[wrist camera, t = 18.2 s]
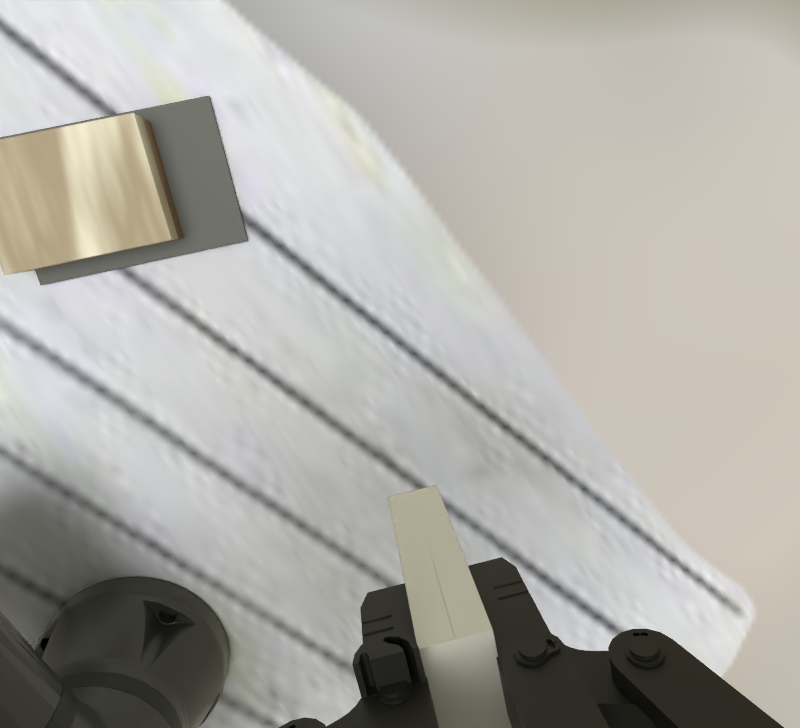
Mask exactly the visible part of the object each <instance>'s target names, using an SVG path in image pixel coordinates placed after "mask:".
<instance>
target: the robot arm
mask: <svg viewBox="0 0 800 728" xmlns="http://www.w3.org/2000/svg"><path fill="white" fill-rule="evenodd" d="M388 499H389V504H390V509H391V514H392V520H393V525H394V530H395V535H396V540H397V545H398V550H399V555H400V560H401V566H402V571H403V576H404V581H405V583H404V584H400V585H396V586H392V587H389V588H385V589H381V590H377V591H373V592H369V593H367V595H366V597H365V600H364V602H363V604H362V606H361V621H362V635H363V644H362V645H361V646H360V648H359V649H358V651H357V652H356V653H355V655H354V660H353V668H354V672H355V675H356V679H357V682H358V686H359V690H360V693H361V697H362V698H361V699H360V701H359V702H358V704H357V705H356V706H355V707H354V708H353V709H352V710H351V711H350V712H349V713H348V714H346V715H345V716H343V717H342V718H341V719H339V720H337V721H335V722H334V723H332V724H330V725H328V726H327V727H326V726H325V724H323V723H322V722H320V721H318V720H317V719H312V718H301V719H297V720H292V721H290V722H288V723H286V724H285V725H283V726H281V727H279V728H784V727H782V726H781V725H780V724H779V723H777V722H776V721H775V720H774V719H772V718H771V717H770V716H768V715H767V714H766V713H765V712H763V711H762V710H761V709H760V708H758V707H757V706H756V705H755V704H753V703H752V702H751V701H749V700H748V699H747V698H746V697H745V696H743V695H742V694H741V693H740V692H738V691H737V690H736V689H734V688H733V687H732V686H731V685H729V684H728V683H727V682H726V681H724V680H723V679H722V678H721V677H719V676H718V675H717V674H716V673H714V672H713V671H712V670H710V669H709V668H708V667H707V666H705V665H704V664H703V663H702V662H700V661H699V660H698V659H697V658H695V657H694V656H693V655H692V654H690V653H689V652H688V651H687V650H685V649H684V648H683V647H681V646H680V645H679V644H678V643H676V642H675V641H674V640H673V639H671V638H669V637H668V636H666V635H664V634H662V633H661V632H657V631H653V630H649V629H631V630H628V631H625V632H621V633H620V634H619V635H617V636H616V637H615V638H613V639H612V641H611V643H610V645H609V648H608V649H609V651H584V650H577V649H574V648H570V647H568V646H566V645H564V644H563V643H562V641H561V640H560V639H559V638H558V637H556V636H554V635H552V634H551V633H550V631H549V629H548V627H547V625H546V624H545V622H544V620H543V618H542V616H541V614H540V612H539V610H538V608H537V606H536V605H535V603H534V601H533V599H532V597H531V595H530V593H529V592H528V589H527V587H526V586H525V584H524V582H523V580H522V578H521V576H520V574H519V572H518V570H517V568H516V567H515V566H514V565H512V564H511V563H509V562H508V561H506V560H505V559H503V558H502V557H501V558H497V559H493V560H490V561H486V562H482V563H478V564H474V565H470V566H468V565H467V562H466V560H465V557H464V554H463V552H462V549H461V547H460V544H459V542H458V539H457V537H456V534H455V531H454V529H453V526H452V524H451V521H450V519H449V516H448V513H447V511H446V508H445V506H444V503H443V501H442V498H441V495H440V493H439V490H438V488H437V485H435V486H431V487H427V488H423V489H419V490H415V491H411V492H407V493H403V494H398V495H394V496H390V497H388ZM228 663H229V647H228V641H227V637H226V634H225V631H224V629H223V627H222V625H221V623H220V621H219V619H218V618H217V616H216V615H215V614H214V612H213V611H212V610H211V609H210V608H209V607H208V606H207V605H206V604H205V603H204V602H203V601H202V600H201V599H199V598H198V597H197V596H195V595H194V594H192V593H191V592H189V591H187V590H185V589H183V588H181V587H179V586H177V585H174V584H172V583H168V582H165V581H161V580H157V579H151V578H140V577H129V578H119V579H113V580H109V581H105V582H101V583H99V584H96V585H93V586H91V587H89V588H87V589H85V590H83V591H81V592H80V593H78V594H77V595H75V596H74V597H72V598H71V599H70V600H69V601H68V602H66V603H65V604H64V605H63V606H62V607H61V609H60V610H59V611H58V612H57V614H56V615H55V616H54V618H53V619H52V621H51V622H50V623H49V625H48V626H47V628H46V629H45V630H44V632H43V634H42V635H41V637H40V639H39V641H38V643H37V645H36V648H35V650H34V649H33V648H32V647H31V646H30V644H29V643H28V642H27V641H26V640H25V639H24V638H23V637H22V635H21V634H20V633H19V632H18V631H17V630H16V629H15V628H14V626H13V625H12V624H11V623H10V622H9V621H8V620H7V619H6V617H5V616H4V615H3V614H2V613H1V612H0V728H199V727H200V726H201V725H202V723H203V722H204V721H205V720H206V719H207V717H208V716H209V715H210V713H211V712H212V710H213V709H214V707H215V705H216V704H217V701H218V699H219V697H220V695H221V692H222V689H223V685H224V681H225V677H226V673H227V669H228Z"/></svg>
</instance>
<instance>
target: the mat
mask: <svg viewBox="0 0 800 728" xmlns="http://www.w3.org/2000/svg"><path fill="white" fill-rule="evenodd" d="M130 113H135V114H137V115H139V116H140V117H142V118H144V119H146V120H148V121H150V123H151V126H152V129H153V133H154V136H155V140H156V143H157V146H158V150H159V153H160V157H161V160H162V163H163V167H164V170H165V174H166V177H167V181H168V184H169V187H170V191H171V194H172V198H173V201H174V204H175V208H176V211H177V215H178V218H179V221H180V225H181V228H182V232H183V235H184V238H183V239H178V240H173V241H169V242H164V243H159V244H155V245H150V246H145V247H141V248H136V249H131V250H126V251H122V252H117V253H112V254H108V255H103V256H98V257H94V258H89V259H84V260H79V261H75V262H70V263H65V264H61V265H56V266H51V267H47V268H42V269H37V270H35V271H36V274H37V276H38V279H39V282H40V285H45V284H49V283H54V282H59V281H63V280H68V279H73V278H77V277H82V276H86V275H91V274H96V273H100V272H105V271H110V270H114V269H119V268H124V267H128V266H133V265H138V264H142V263H147V262H152V261H156V260H161V259H165V258H170V257H175V256H179V255H184V254H189V253H193V252H198V251H203V250H207V249H212V248H217V247H221V246H226V245H230V244H235V243H240V242H244V241H248V238H247V234H246V230H245V227H244V223H243V219H242V216H241V212H240V208H239V204H238V201H237V197H236V193H235V189H234V186H233V182H232V178H231V174H230V171H229V167H228V163H227V160H226V156H225V152H224V148H223V145H222V141H221V137H220V133H219V130H218V126H217V122H216V118H215V115H214V111H213V107H212V103H211V100H210V97H209V96H205V97H200V98H195V99H190V100H185V101H180V102H175V103H170V104H165V105H160V106H155V107H150V108H145V109H140V110H135V111H130V112H125V113H120V114H115V115H110V116H105V117H100V118H95V119H90V120H85V121H80V122H76V123H71V124H66V125H61V126H56V127H51V128H46V129H41V130H36V131H31V132H26V133H21V134H16V135H11V136H6V137H1V138H0V139H5V138H10V137H15V136H20V135H25V134H30V133H35V132H40V131H45V130H50V129H55V128H60V127H65V126H70V125H75V124H80V123H85V122H90V121H95V120H100V119H105V118H110V117H115V116H120V115H125V114H130Z"/></svg>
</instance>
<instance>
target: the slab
mask: <svg viewBox="0 0 800 728" xmlns="http://www.w3.org/2000/svg"><path fill="white" fill-rule="evenodd" d="M183 238H184V235H183V232H182V228H181V225H180V221H179V218H178V215H177V211H176V208H175V204H174V201H173V198H172V194H171V191H170V187H169V184H168V181H167V177H166V174H165V170H164V167H163V163H162V160H161V157H160V153H159V150H158V146H157V143H156V140H155V136H154V133H153V129H152V126H151V123H150V121H148V120H146V119H144V118H142V117H140V116H139V115H137V114H135V113H130V114H125V115H120V116H115V117H110V118H105V119H100V120H95V121H90V122H85V123H80V124H75V125H70V126H65V127H60V128H55V129H50V130H45V131H40V132H35V133H30V134H25V135H20V136H15V137H10V138H5V139H0V265H1V268H2V270H3V273H4V275H8V274H14V273H20V272H27V271H32V270H37V269H42V268H47V267H51V266H56V265H61V264H65V263H70V262H75V261H79V260H84V259H89V258H94V257H98V256H103V255H108V254H112V253H117V252H122V251H126V250H131V249H136V248H141V247H145V246H150V245H155V244H159V243H164V242H169V241H173V240H178V239H183Z"/></svg>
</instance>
